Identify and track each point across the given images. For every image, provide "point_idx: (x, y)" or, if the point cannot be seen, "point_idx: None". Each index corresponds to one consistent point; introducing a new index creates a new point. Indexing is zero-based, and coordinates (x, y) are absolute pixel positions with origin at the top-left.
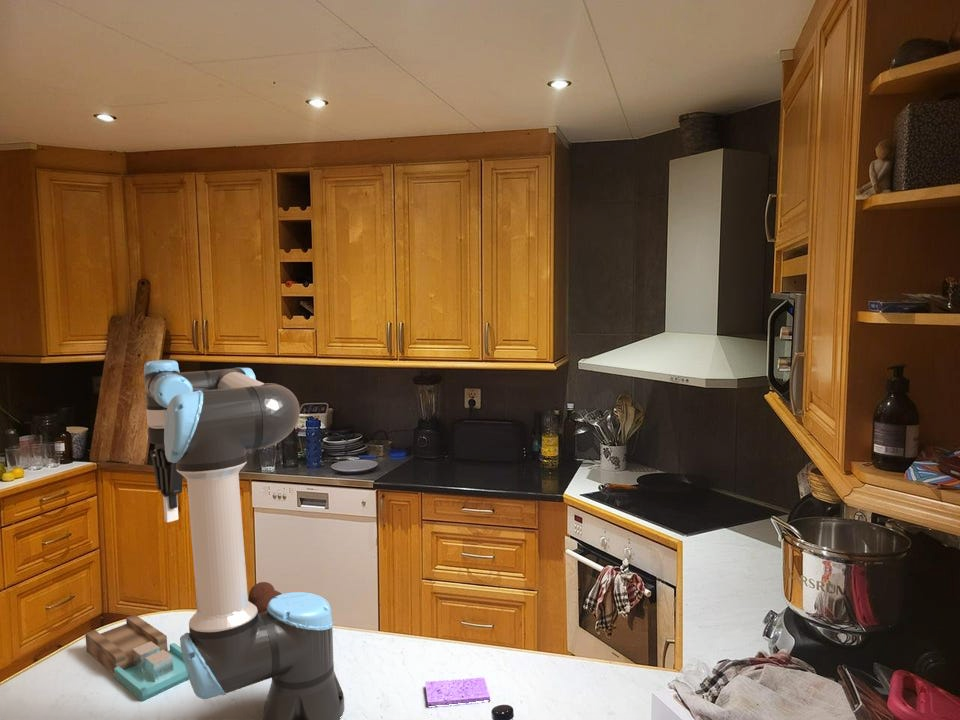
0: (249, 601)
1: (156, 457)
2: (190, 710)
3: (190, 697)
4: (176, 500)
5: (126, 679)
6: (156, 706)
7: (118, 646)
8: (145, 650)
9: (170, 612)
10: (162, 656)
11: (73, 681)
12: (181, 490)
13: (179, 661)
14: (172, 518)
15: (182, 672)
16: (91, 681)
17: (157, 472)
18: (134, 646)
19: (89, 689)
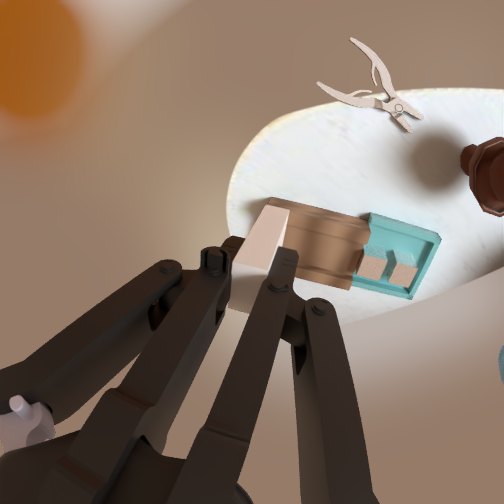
0: (497, 199)
1: (52, 416)
2: (460, 284)
3: (450, 271)
4: (294, 273)
5: (378, 291)
6: (427, 292)
7: (316, 259)
8: (376, 272)
9: (261, 133)
10: (407, 273)
11: (309, 294)
12: (334, 315)
13: (401, 234)
14: (283, 235)
15: (430, 262)
16: (328, 288)
17: (122, 365)
18: (336, 252)
19: (339, 297)
